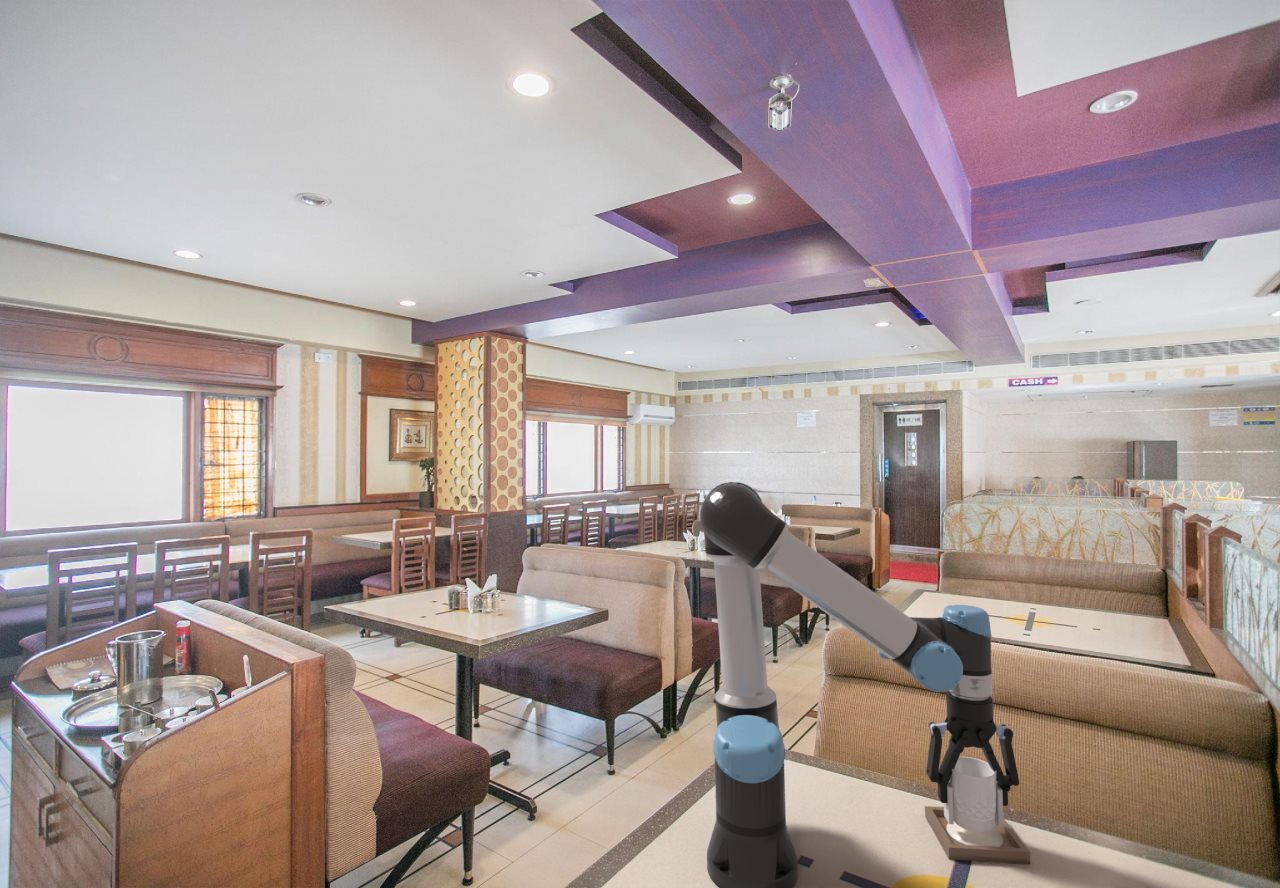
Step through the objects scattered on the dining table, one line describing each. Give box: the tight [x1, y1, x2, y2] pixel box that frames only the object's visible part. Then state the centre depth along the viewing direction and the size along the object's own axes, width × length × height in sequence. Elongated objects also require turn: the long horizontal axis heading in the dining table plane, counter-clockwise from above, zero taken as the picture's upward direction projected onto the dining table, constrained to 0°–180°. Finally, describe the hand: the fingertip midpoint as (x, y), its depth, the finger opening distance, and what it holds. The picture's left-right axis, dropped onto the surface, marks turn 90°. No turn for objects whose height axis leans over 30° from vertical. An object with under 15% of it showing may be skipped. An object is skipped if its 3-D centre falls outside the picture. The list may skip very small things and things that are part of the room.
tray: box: [924, 805, 1031, 865], centre depth 114 cm, size 13×13×2 cm
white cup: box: [949, 756, 997, 833], centre depth 114 cm, size 8×8×10 cm
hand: (973, 821), depth 114 cm, fingers open, 8 cm apart
